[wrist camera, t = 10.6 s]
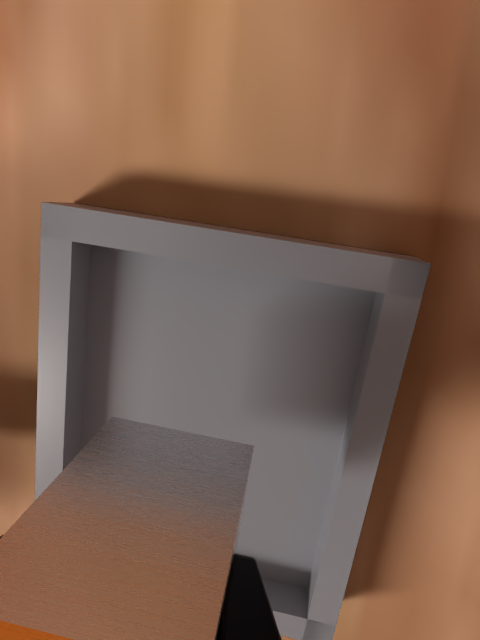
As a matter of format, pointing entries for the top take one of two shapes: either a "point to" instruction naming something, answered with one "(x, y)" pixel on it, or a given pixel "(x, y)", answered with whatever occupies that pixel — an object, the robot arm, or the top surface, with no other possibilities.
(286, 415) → the tray
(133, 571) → the block
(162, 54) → the top surface
